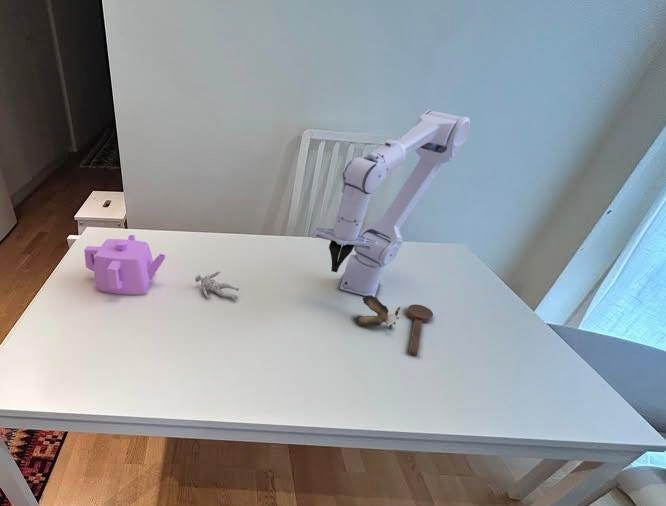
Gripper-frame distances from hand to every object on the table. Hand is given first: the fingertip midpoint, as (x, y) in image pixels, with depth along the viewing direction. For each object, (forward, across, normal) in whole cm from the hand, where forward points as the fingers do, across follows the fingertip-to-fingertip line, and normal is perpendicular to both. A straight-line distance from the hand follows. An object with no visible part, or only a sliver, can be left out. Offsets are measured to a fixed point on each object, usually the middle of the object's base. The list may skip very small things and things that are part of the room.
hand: (334, 270), depth 96 cm
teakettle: (+11, -52, -15) cm, 55 cm away
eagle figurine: (+10, +13, -2) cm, 17 cm away
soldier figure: (+11, -28, -9) cm, 31 cm away
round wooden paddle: (+10, +23, 0) cm, 25 cm away
